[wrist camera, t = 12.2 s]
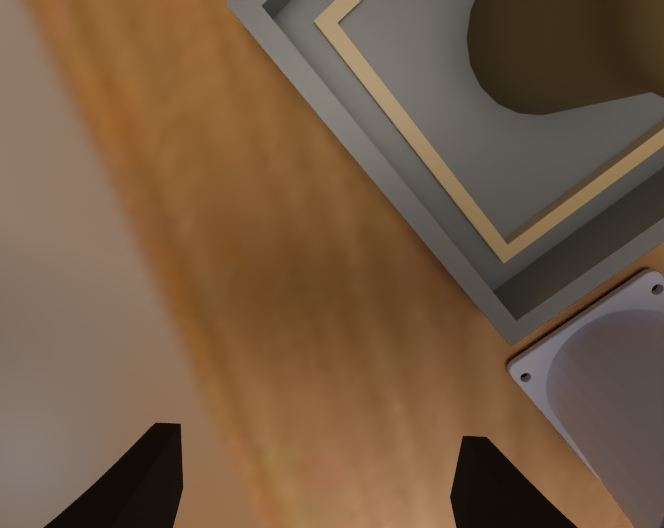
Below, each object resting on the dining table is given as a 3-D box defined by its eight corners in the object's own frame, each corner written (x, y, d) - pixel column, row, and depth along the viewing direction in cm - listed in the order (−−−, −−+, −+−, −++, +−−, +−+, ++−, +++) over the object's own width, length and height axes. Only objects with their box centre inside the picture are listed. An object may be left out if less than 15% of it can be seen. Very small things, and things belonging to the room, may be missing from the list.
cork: (537, -104, 16) (910, -455, 6) (664, 0, 17) (1168, -141, 7) (434, 60, 18) (582, 14, 8) (557, 145, 19) (831, 205, 9)
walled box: (817, 68, 19) (921, 62, 15) (483, 308, 22) (510, 346, 19) (617, -359, 15) (703, -493, 11) (243, 19, 18) (225, 2, 15)
